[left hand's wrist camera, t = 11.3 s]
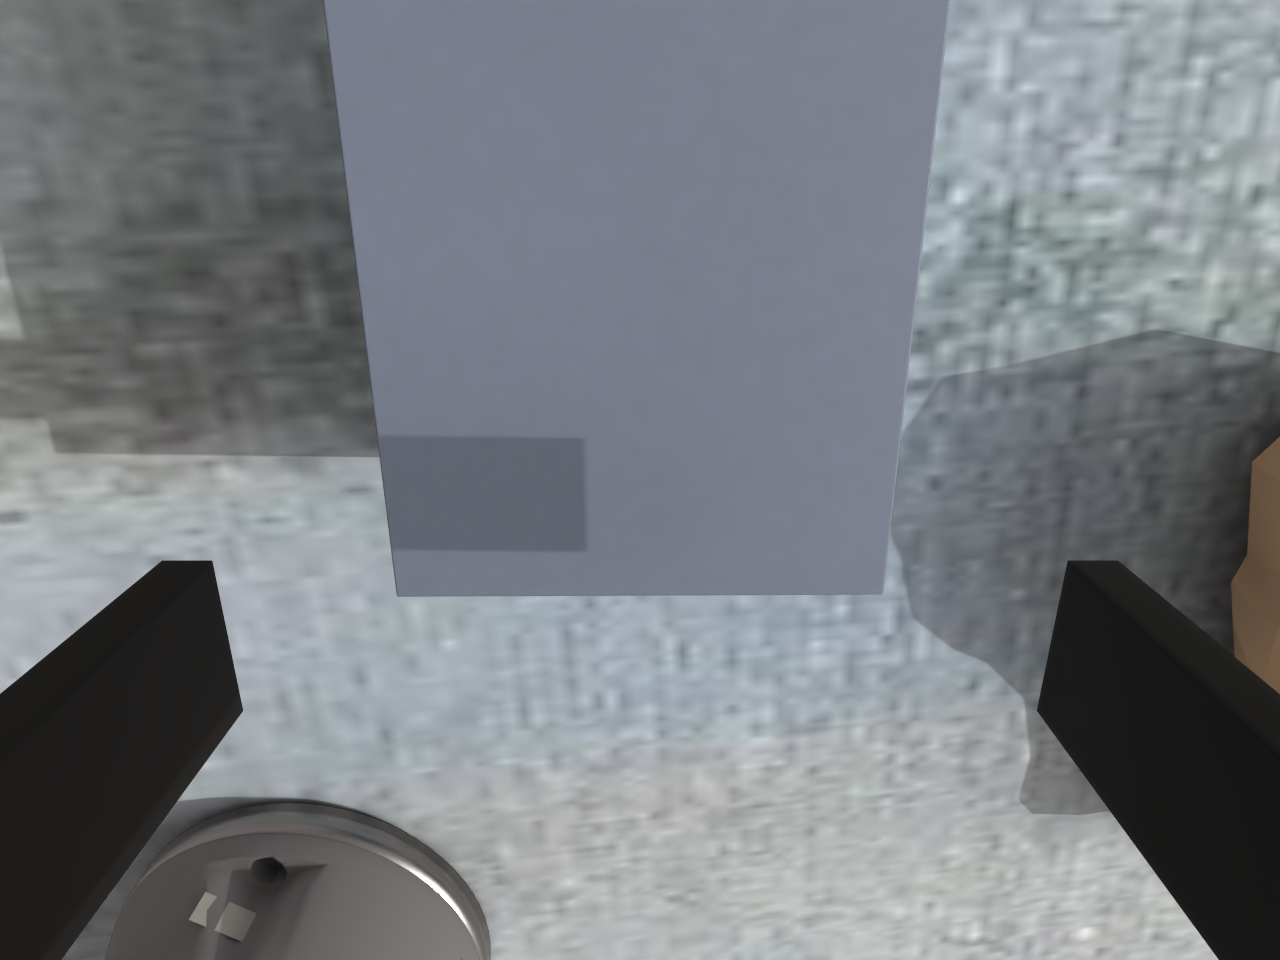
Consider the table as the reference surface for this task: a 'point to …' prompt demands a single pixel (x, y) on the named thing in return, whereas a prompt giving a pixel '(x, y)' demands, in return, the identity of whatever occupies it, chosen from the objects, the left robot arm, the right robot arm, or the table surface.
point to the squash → (1260, 575)
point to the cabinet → (638, 285)
